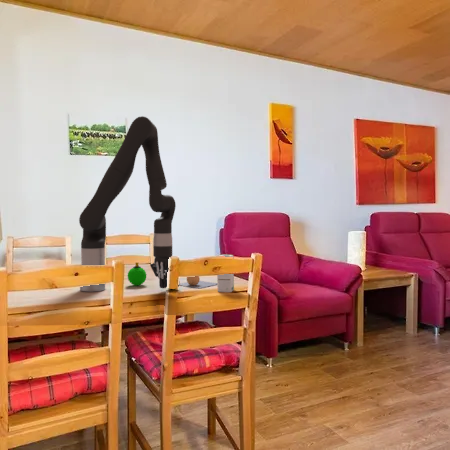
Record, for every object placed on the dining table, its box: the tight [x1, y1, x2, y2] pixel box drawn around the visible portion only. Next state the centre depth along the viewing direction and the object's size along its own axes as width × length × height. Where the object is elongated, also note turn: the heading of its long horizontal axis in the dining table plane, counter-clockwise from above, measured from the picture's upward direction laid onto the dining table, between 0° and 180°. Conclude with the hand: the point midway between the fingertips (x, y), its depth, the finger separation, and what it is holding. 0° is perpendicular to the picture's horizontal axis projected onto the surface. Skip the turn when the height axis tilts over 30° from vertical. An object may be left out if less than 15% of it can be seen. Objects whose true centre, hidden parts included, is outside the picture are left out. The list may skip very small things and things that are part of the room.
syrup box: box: [217, 254, 235, 293], centre depth 169 cm, size 6×6×14 cm
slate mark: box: [179, 280, 218, 289], centre depth 184 cm, size 14×14×1 cm
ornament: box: [127, 262, 147, 287], centre depth 182 cm, size 8×8×10 cm
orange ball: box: [186, 275, 201, 286], centre depth 182 cm, size 6×6×6 cm
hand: (163, 287), depth 168 cm, fingers closed
